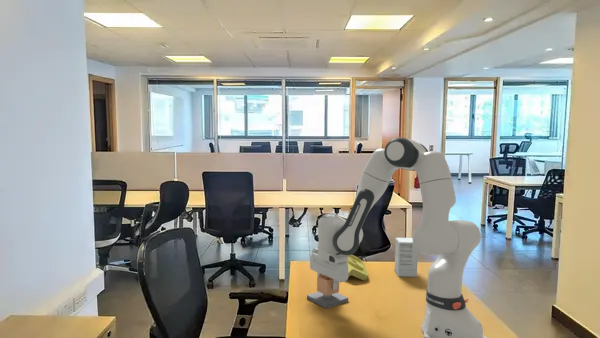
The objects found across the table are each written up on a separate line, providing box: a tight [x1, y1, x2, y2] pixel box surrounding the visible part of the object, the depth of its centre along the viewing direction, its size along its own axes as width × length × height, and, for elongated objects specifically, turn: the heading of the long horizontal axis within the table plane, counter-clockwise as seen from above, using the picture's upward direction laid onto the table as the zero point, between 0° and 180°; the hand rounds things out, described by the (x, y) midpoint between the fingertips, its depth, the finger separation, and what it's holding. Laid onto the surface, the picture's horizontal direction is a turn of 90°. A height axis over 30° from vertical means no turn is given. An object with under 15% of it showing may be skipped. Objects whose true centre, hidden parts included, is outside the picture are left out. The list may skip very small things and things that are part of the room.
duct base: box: [306, 291, 349, 309], centre depth 172 cm, size 12×12×8 cm
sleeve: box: [316, 275, 340, 296], centre depth 172 cm, size 6×6×6 cm
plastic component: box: [346, 254, 370, 281], centre depth 204 cm, size 20×7×10 cm
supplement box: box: [394, 237, 419, 278], centre depth 205 cm, size 10×9×17 cm
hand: (327, 286), depth 172 cm, fingers closed on sleeve, 6 cm apart
